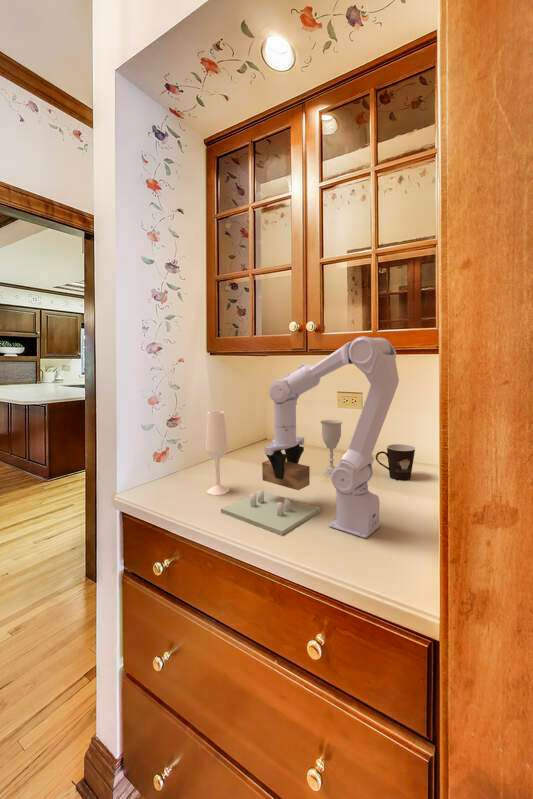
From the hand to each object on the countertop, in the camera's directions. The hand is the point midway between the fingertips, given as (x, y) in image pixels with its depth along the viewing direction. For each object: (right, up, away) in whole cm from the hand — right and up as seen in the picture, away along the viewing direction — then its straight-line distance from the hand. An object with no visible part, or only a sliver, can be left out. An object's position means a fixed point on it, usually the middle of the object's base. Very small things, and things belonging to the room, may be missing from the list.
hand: (285, 475), depth 98 cm
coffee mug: (+37, -5, +23) cm, 44 cm away
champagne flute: (-20, -7, +13) cm, 25 cm away
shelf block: (0, -2, 0) cm, 2 cm away
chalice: (+17, -5, +27) cm, 32 cm away
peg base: (-4, -9, -3) cm, 10 cm away
